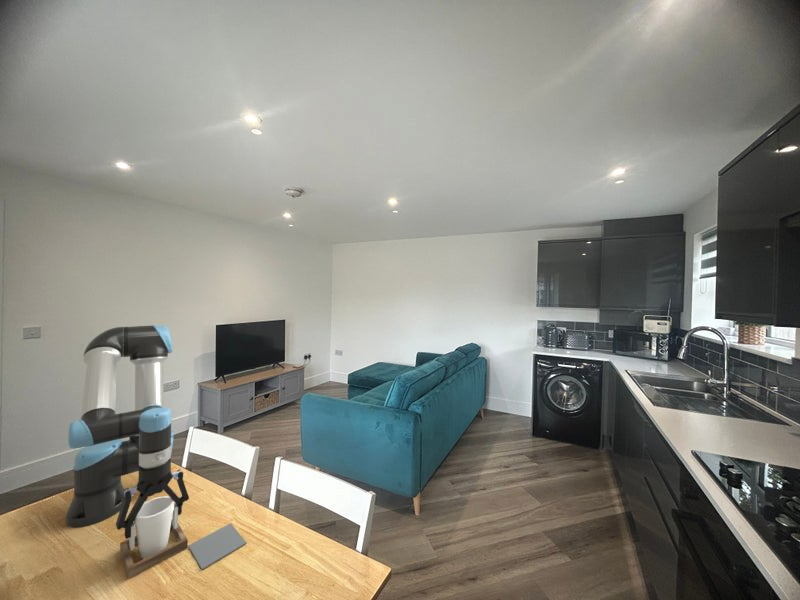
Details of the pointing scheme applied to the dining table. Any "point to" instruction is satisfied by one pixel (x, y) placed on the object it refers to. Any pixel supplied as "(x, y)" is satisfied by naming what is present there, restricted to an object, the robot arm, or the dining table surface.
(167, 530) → the foam cup
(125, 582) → the dining table surface
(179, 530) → the frame
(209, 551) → the mat
